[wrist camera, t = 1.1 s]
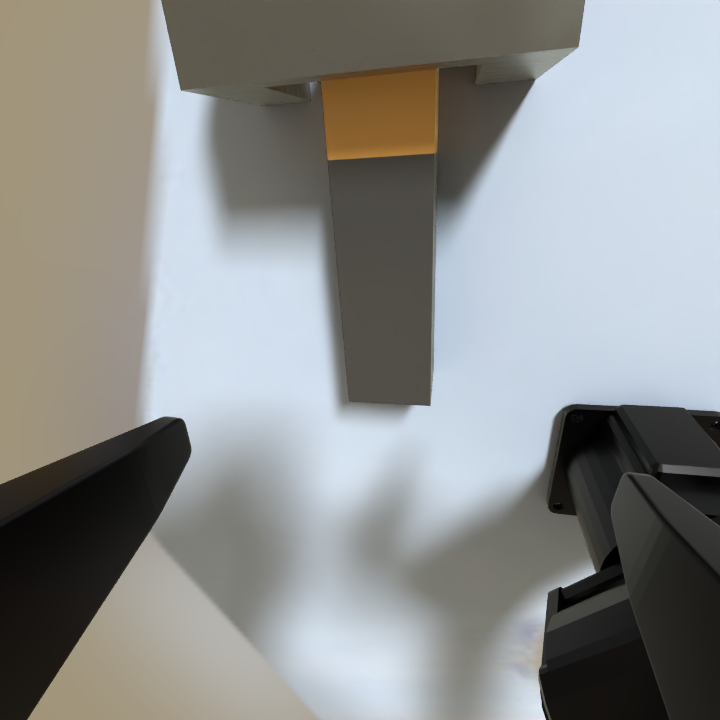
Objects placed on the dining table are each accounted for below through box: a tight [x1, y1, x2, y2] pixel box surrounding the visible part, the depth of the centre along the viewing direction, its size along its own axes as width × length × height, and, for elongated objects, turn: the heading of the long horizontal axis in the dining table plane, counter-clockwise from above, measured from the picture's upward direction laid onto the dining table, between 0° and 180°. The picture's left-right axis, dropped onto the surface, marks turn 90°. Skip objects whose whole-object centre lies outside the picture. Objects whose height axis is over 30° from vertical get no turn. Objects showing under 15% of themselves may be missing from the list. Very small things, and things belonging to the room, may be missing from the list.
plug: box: [321, 69, 439, 406], centre depth 16 cm, size 14×4×3 cm, turn 4°
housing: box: [161, 0, 585, 106], centre depth 12 cm, size 4×10×6 cm, turn 94°
